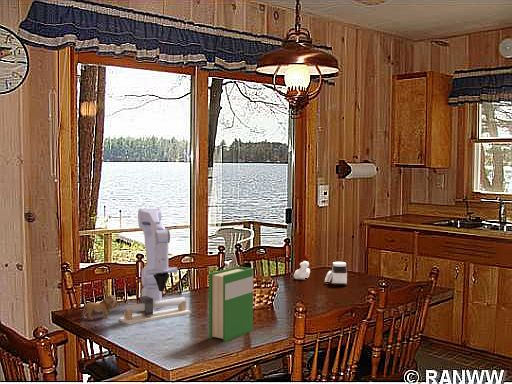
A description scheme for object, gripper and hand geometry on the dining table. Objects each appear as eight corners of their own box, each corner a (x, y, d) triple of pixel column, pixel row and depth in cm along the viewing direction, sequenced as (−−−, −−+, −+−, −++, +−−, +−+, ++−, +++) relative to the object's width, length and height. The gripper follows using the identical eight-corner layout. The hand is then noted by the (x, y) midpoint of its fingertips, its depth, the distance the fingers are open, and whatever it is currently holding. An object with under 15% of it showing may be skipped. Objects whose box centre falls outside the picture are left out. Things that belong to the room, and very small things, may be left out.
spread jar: (347, 286, 313) (348, 264, 313) (325, 286, 313) (326, 264, 313) (344, 282, 325) (345, 260, 325) (323, 282, 325) (323, 260, 325)
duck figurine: (296, 284, 329) (306, 269, 324) (287, 274, 333) (297, 259, 328) (309, 281, 338) (319, 267, 332) (301, 271, 342) (311, 257, 336)
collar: (139, 312, 250) (139, 296, 250) (146, 311, 252) (146, 295, 252) (146, 315, 245) (146, 299, 245) (153, 314, 247) (152, 298, 247)
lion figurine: (114, 314, 255) (114, 293, 254) (117, 317, 250) (117, 296, 250) (78, 318, 248) (78, 296, 248) (81, 321, 243) (80, 299, 243)
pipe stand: (119, 320, 246) (119, 304, 245) (181, 309, 264) (181, 294, 263) (128, 324, 240) (128, 308, 239) (190, 313, 257) (190, 298, 257)
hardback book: (225, 341, 218) (225, 275, 217) (208, 338, 222) (209, 273, 221) (252, 330, 233) (253, 268, 231) (237, 327, 237) (237, 266, 235)
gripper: (150, 261, 245) (150, 295, 246) (181, 258, 254) (181, 290, 254) (142, 259, 250) (142, 291, 251) (173, 256, 259) (173, 287, 260)
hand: (161, 291), depth 253 cm, fingers closed
